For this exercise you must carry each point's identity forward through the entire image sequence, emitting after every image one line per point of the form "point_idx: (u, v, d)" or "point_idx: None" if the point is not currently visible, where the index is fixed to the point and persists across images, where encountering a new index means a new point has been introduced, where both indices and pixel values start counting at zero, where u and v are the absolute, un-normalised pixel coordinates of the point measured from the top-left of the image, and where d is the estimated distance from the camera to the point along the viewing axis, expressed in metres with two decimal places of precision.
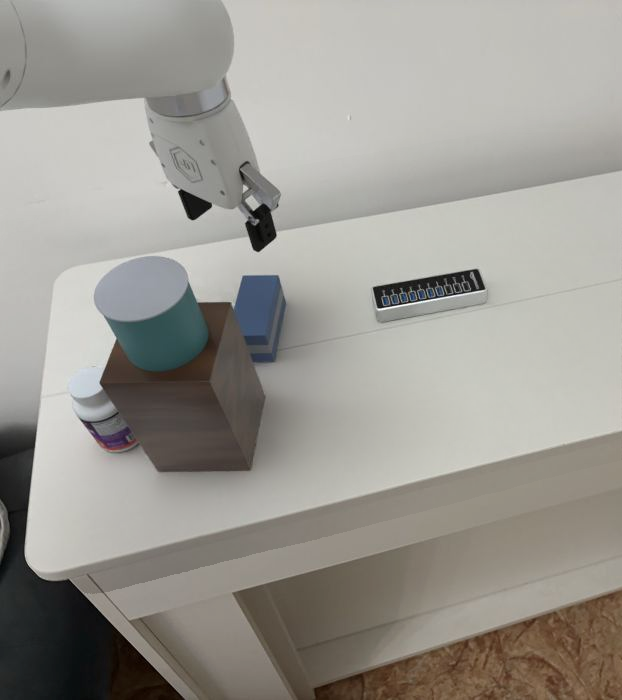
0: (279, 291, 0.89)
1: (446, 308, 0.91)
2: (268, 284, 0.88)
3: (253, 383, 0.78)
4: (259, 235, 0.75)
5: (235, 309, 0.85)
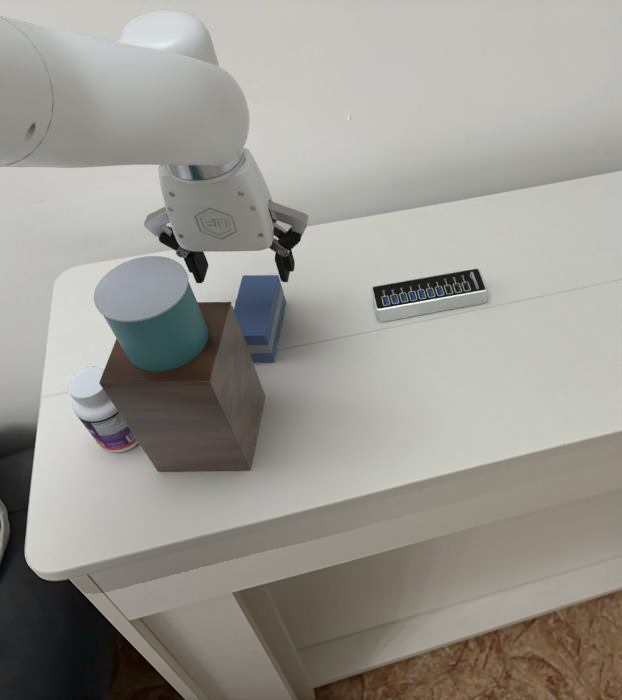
0: (279, 291, 0.89)
1: (446, 308, 0.91)
2: (268, 284, 0.88)
3: (253, 383, 0.78)
4: (286, 265, 0.80)
5: (235, 309, 0.85)
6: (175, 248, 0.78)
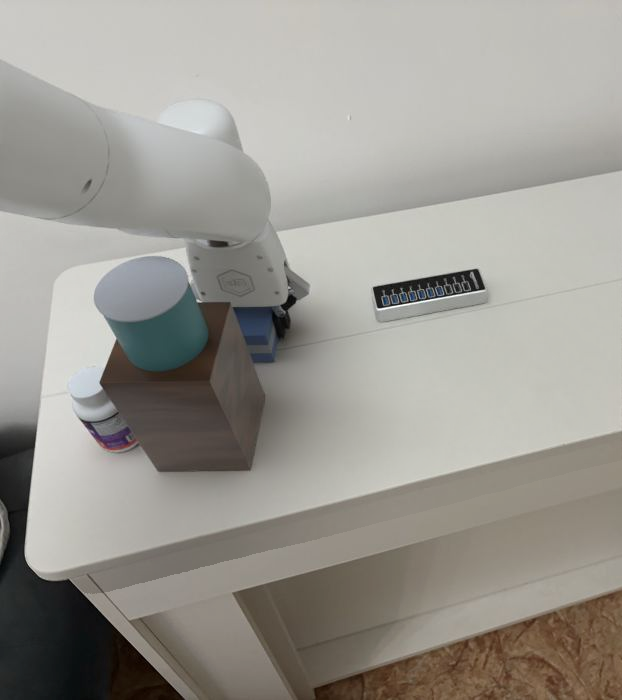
0: None
1: (446, 308, 0.91)
2: None
3: (253, 383, 0.78)
4: (283, 324, 0.87)
5: (235, 309, 0.85)
6: None
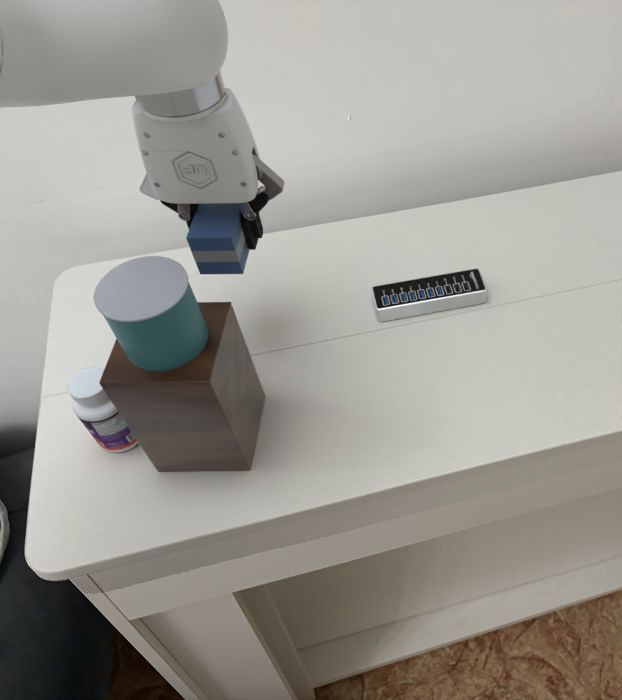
0: None
1: (446, 308, 0.91)
2: None
3: (253, 383, 0.78)
4: (254, 231, 0.75)
5: (197, 211, 0.73)
6: None
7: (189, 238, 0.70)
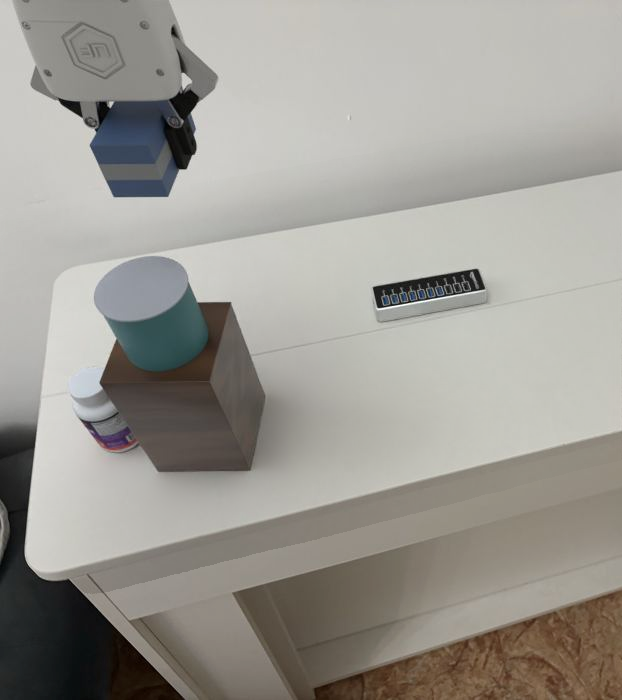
0: None
1: (446, 308, 0.91)
2: None
3: (253, 383, 0.78)
4: (183, 144, 0.59)
5: (108, 115, 0.57)
6: None
7: (93, 146, 0.55)
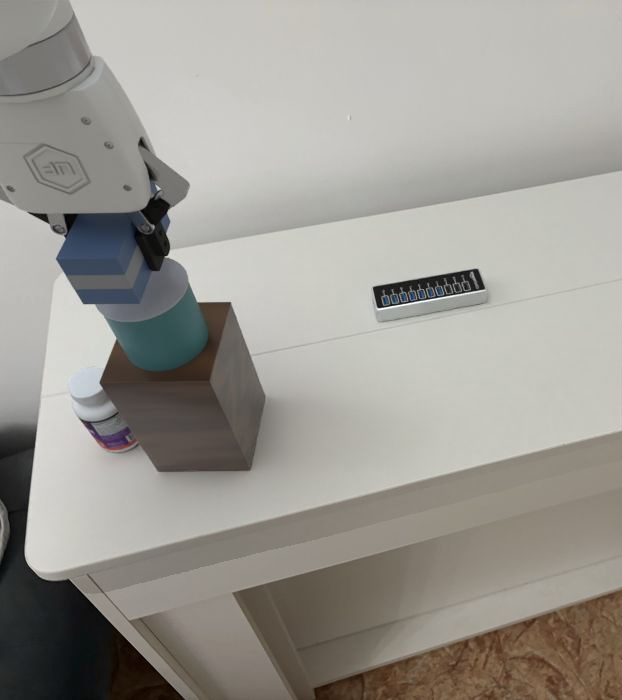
0: None
1: (446, 308, 0.91)
2: None
3: (253, 383, 0.78)
4: (155, 247, 0.57)
5: (76, 221, 0.55)
6: None
7: (60, 259, 0.53)
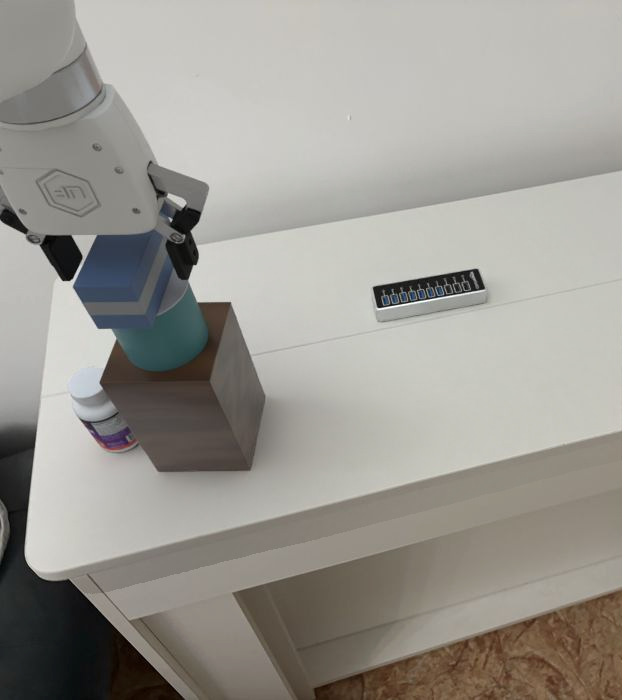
0: None
1: (446, 308, 0.91)
2: None
3: (253, 383, 0.78)
4: (185, 256, 0.58)
5: (91, 249, 0.57)
6: (25, 231, 0.56)
7: (76, 287, 0.55)
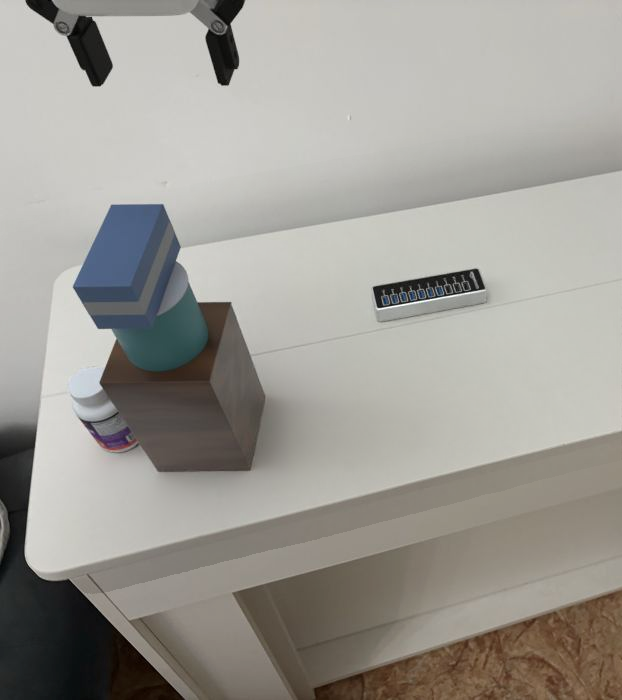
0: (165, 228, 0.62)
1: (446, 308, 0.91)
2: (146, 215, 0.60)
3: (253, 383, 0.78)
4: (225, 56, 0.53)
5: (91, 249, 0.57)
6: (53, 20, 0.51)
7: (76, 287, 0.55)
